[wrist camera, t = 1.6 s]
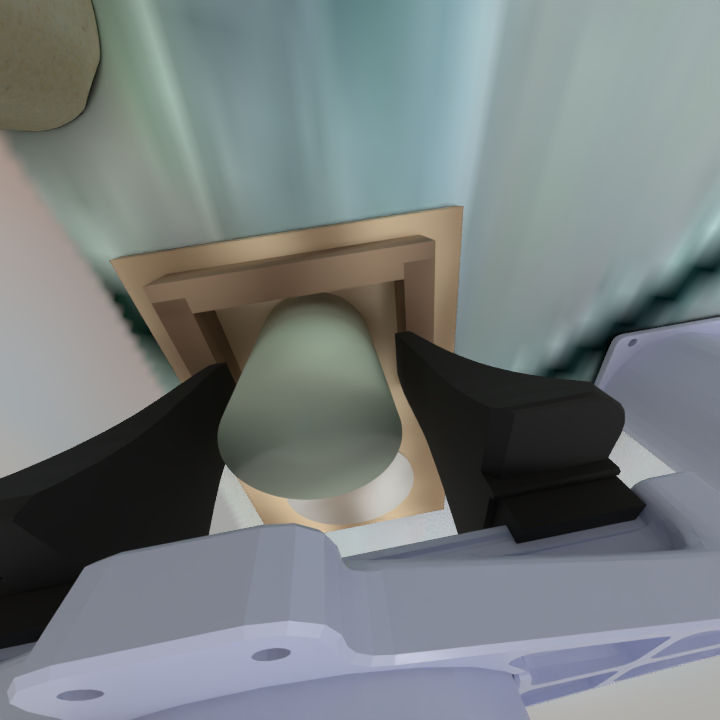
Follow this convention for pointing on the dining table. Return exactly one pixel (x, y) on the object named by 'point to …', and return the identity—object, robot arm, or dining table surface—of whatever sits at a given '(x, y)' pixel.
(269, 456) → the sage green cylinder
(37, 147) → the dining table surface
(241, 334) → the board
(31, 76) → the flower pot
